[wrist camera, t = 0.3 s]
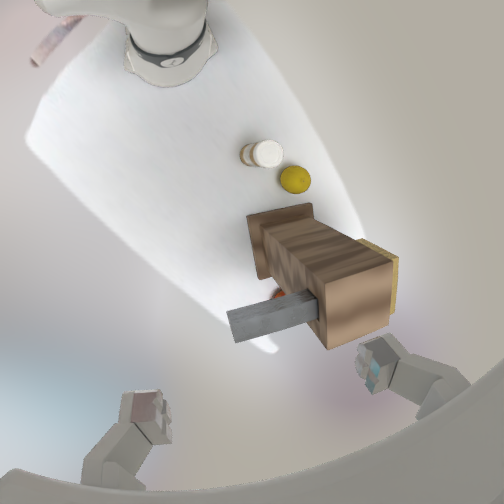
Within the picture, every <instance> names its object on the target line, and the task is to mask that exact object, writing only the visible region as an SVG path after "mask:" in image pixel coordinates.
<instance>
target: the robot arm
mask: <svg viewBox="0 0 504 504" xmlns="http://www.w3.org/2000/svg"><path fill="white" fill-rule="evenodd" d="M34 1H35V3H36V4H37V6H38V7H39V8H40V9H41V10H42V11H44V12H45V13H47V14H49V15H51V16H54V17H66V16H75V15H90V16H99V17H104V18H108V19H111V20H114V21H117V22H120V23H122V24H124V25H125V26H126V35H128V37H127V40H126V51H125V58H124V69H125V70H126V71H128V72H130V73H134V74H137V75H138V76H140V77H141V78H142V79H143V80H144V81H146V82H147V83H149V84H151V85H154V86H158V87H173V86H178V85H181V84H184V83H186V82H188V81H190V80H191V79H193V78H194V77H195V76H196V75H197V74H198V73H199V72H200V71H201V70H202V68H203V66H204V65H205V63H206V61H207V60H208V59H209V58H210V57H211V56H213V55H214V54H215V53H216V52H217V50H218V45H217V43H216V41H215V39H214V36H213V34H212V32H211V30H210V28H209V26H208V23H207V21H206V19H205V15H206V10H207V5H208V0H34ZM211 43H212V44H211ZM129 61H130V62H129ZM357 351H358V352H359V354H358V355H357V357H356V360H355V366H356V370H357V373H358V374H359V376H360V377H361V378H363V379H366V382H365V385H366V387H367V388H368V390H369V391H370V392H371V394H372V395H373V394H376V393H378V392H381V391H383V390H386V389H388V388H389V390H391V391H393V392H395V393H397V394H398V395H401V396H402V397H404V398H406V399H408V400H410V401H412V402H414V403H416V404H418V405H420V406H421V407H420V409H419V410H418V412H417V414H416V419H417V420H418V421H417V422H415V423H413V424H412V425H410V426H408V427H406V428H404V429H403V430H401V431H399V432H397V433H395V434H393V435H391V436H389V437H387V438H385V439H383V440H381V441H379V442H376V443H374V444H372V445H370V446H368V447H365V448H363V449H361V450H359V451H356V452H354V453H351V454H349V455H346V456H343V457H341V458H338V459H336V460H333V461H330V462H327V463H324V464H321V465H318V466H315V467H312V468H308V469H305V470H302V471H299V472H295V473H291V474H287V475H284V476H279V477H275V478H271V479H266V480H262V481H257V482H251V483H247V484H240V485H234V486H226V487H219V488H210V489H199V490H184V491H146V486H145V485H144V484H143V483H142V482H140V481H139V480H138V479H136V478H135V475H136V473H137V472H138V470H139V468H140V467H141V465H142V464H143V462H144V460H145V458H146V457H147V455H148V454H149V452H150V450H151V449H152V447H153V446H152V445H161V444H172V430H171V429H170V427H169V424H170V423H171V421H172V419H171V411H170V407H169V404H168V403H167V401H166V400H164V399H163V394H162V392H161V390H160V389H154V390H138V391H125V392H124V393H123V394H122V400H121V406H120V412H119V420H118V423H115V424H114V425H113V426H112V427H111V428H110V429H109V431H108V432H107V433H106V434H105V435H104V436H103V437H102V438H101V440H100V441H99V442H98V443H97V444H96V445H95V446H94V448H93V449H92V450H91V451H90V452H89V453H88V454H87V456H86V457H85V458H84V461H83V468H82V475H81V484H76V483H70V482H65V481H61V480H56V479H52V478H48V477H44V476H41V475H37V474H33V473H30V472H27V471H24V470H21V469H12V470H10V471H9V472H7V473H6V474H5V475H4V476H3V477H2V478H1V479H0V504H504V358H503V359H502V360H501V361H500V362H499V363H498V364H497V365H495V366H494V367H493V368H492V369H491V370H490V371H488V372H487V373H486V374H485V375H484V376H482V377H481V378H480V379H479V380H478V381H476V382H475V383H474V384H472V385H471V384H470V383H469V381H468V380H467V379H466V378H465V377H464V376H463V375H462V374H461V373H460V372H459V371H458V370H457V368H455V367H451V366H449V365H446V364H443V363H440V362H437V361H433V360H431V359H428V358H425V357H422V356H419V355H416V354H410V353H409V352H408V351H407V350H406V349H405V348H404V347H403V346H402V345H401V343H400V342H399V341H398V340H397V339H396V338H395V337H394V336H393V335H392V334H391V333H387V334H384V335H381V336H379V337H376V338H373V339H371V340H368V341H365V342H363V343H360V344H359V345H358V348H357Z"/></svg>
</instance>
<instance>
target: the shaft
mask: <svg viewBox="0 0 504 504" xmlns="http://www.w3.org/2000/svg"><path fill="white" fill-rule="evenodd" d="M397 282H398V280H397ZM226 312H227V316H228V320H229V324H230V327H231V331H232V334H233V337H234V341H235V343H238V342H242V341H246V340H249V339H253V338H256V337H260V336H263V335H267V334H270V333H273V332H277V331H280V330H283V329H287V328H290V327H293V326H296V325H299V324H302V323H305V322H308V321H311V320H314V319H317V318H319V303H318V298H317V297H316V296H315V295H314V294H313V293H312V292H311V291H310V290H309V289H305V290H302V291H298V292H295V293H291V294H288V295H285V296H281V297H278V298H274V299H271V300H267V301H264V302H260V303H256V304H253V305H249V306H245V307H242V308H238V309H234V310H230V311H226Z"/></svg>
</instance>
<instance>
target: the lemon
mask: <svg viewBox="0 0 504 504" xmlns="http://www.w3.org/2000/svg"><path fill="white" fill-rule="evenodd" d="M280 181H281V184H282V187H283V188H284V189H285V190H286V191H288V192H290V193H292V194H300V193H303V192H305V191H306V190H307V189H308V188H309V186H310V183H311V178H310V175H309V173H308V172H307V171H306V170H305V169H304V168H302V167H300V166H290V167H288V168H286V169H285V170H284V171H283V172H282V174H281V179H280Z"/></svg>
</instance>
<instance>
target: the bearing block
mask: <svg viewBox="0 0 504 504" xmlns="http://www.w3.org/2000/svg"><path fill="white" fill-rule="evenodd" d="M247 222H248V227H249V233H250V238H251V244H252V249H253V254H254V260H255V265H256V271H257V276H258V279H259V280H262V279H266V278H269V277H273V278H274V280H275V281H276V282H277V284H278V285H279V286H280V288H281V289H282V290H283V292H284V293H285V294H286V295H288V294H291V293H295V292H298V291H302V290H305V289H309V290H310V291H311V292H312V293H313V294H314V295H315V296H316V297H317V298H318V303H319V318H317V319H314V320H311V321H308V322H307V324H308V325H309V326H310V328H311V329H312V330H313V332H314V333H315V334H316V336H317V337H318V338H319V340H320V341H321V343H322V344H323V345H324V346H325V348H326V349H327V350H330V349H333V348H335V347H338V346H340V345H343V344H345V343H348V342H350V341H353V340H355V339H357V338H360V337H362V336H365V335H367V334H369V333H372V332H374V331H376V330H378V329H380V328H383V327H385V326H387V325H388V324H389V316H390V306H391V295H392V281H393V260H391V259H389V258H387V257H385V256H384V255H382V254H380V253H378V252H376V251H374V250H373V249H371V248H369V247H367V246H365V245H363V244H361V243H359V242H358V241H356V240H354V239H352V238H350V237H348V236H346V235H344V234H342V233H340V232H338V231H336V230H334V229H333V228H331V227H329V226H327V225H325V224H323V223H321V222H319V221H317V220H315V219H314V216H313V207H312V203H305V204H300V205H295V206H290V207H285V208H281V209H276V210H271V211H267V212H262V213H258V214H253V215H249V216H247Z"/></svg>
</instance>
